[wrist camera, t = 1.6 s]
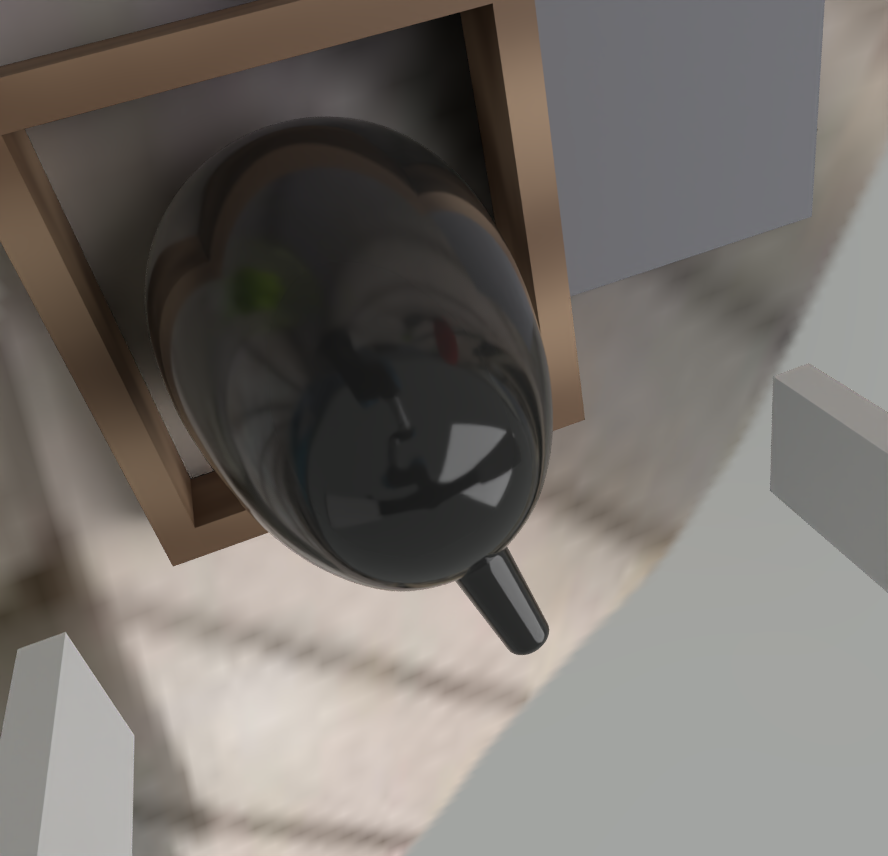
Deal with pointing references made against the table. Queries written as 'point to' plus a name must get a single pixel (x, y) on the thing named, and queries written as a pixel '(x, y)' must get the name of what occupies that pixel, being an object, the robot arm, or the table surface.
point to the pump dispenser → (358, 359)
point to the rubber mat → (677, 125)
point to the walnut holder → (217, 54)
